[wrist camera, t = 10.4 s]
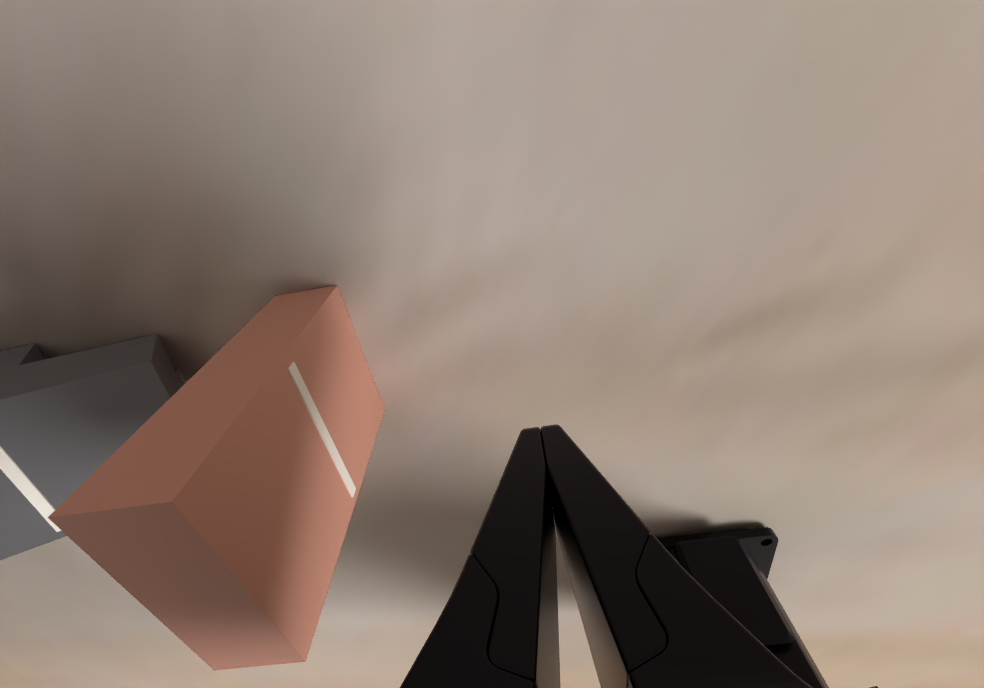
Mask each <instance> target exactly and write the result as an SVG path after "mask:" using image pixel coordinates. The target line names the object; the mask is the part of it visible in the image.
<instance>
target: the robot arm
mask: <svg viewBox="0 0 984 688" xmlns="http://www.w3.org/2000/svg"><path fill="white" fill-rule="evenodd" d="M551 501H552V502H551ZM552 508H553V509H552ZM553 514H554V516H553ZM554 520H555V524H554ZM555 525H556V529H557V533H558V537H559V541H560V544H561V548H562V551H563V555H564V559H565V562H566V566H567V569H568V573H569V576H570V580H571V583H572V587H573V590H574V594H575V597H576V601H577V604H578V608H579V611H580V615H581V619H582V622H583V626H584V629H585V633H586V636H587V640H588V643H589V647H590V650H591V654H592V657H593V661H594V664H595V668H596V672H597V675H598V679H599V682H600V686H601V688H829V687H828V685H827V684H826V682H825V680H824V678H823V677H822V675H821V673H820V671H819V670H818V668H817V666H816V664H815V663H814V661H813V659H812V657H811V656H810V654H809V652H808V650H807V649H806V647H805V645H804V643H803V642H802V640H801V638H800V637H799V635H798V633H797V631H796V630H795V628H794V626H793V624H792V623H791V621H790V619H789V617H788V616H787V614H786V612H785V610H784V609H783V607H782V605H781V603H780V602H779V600H778V598H777V597H776V595H775V593H774V591H773V590H772V588H771V586H770V584H769V583H768V581H767V578H768V575H769V571H770V568H771V564H772V561H773V557H774V554H775V550H776V547H777V543H778V538H777V536H776V535H775V533H774V532H773V530H772V529H771V528H768V527H762V528H754V529H745V530H736V531H727V532H718V533H709V534H700V535H692V536H683V537H674V538H665V539H657V538H656V537H655V536H654V535H653V534H651V532H650V530H649V529H648V528H647V527H646V525H645V524H644V523H643V522H642V521H641V520H640V518H639V517H638V516H637V515H636V514H635V513H634V511H633V510H632V509H631V508H630V507H629V506H628V504H627V503H626V502H625V501H624V500H623V499H622V497H621V496H620V495H619V494H618V493H617V492H616V490H615V489H614V488H613V487H612V486H611V485H610V484H609V482H608V481H607V480H606V479H605V478H604V477H603V475H602V474H601V473H600V472H599V471H598V470H597V468H596V467H595V466H594V465H593V464H592V463H591V461H590V460H589V459H588V458H587V457H586V456H585V454H584V453H583V452H582V451H581V450H580V449H579V447H578V446H577V445H576V444H575V443H574V442H573V440H572V439H571V438H570V437H569V436H568V435H567V434H566V432H565V431H564V430H563V429H562V428H561V427H560V426H559V425H549V426H543V427H541V430H540V428H538V427H534V428H527V429H523V430H522V431H521V432H520V435H519V437H518V439H517V442H516V444H515V447H514V449H513V451H512V454H511V456H510V458H509V461H508V463H507V466H506V468H505V470H504V473H503V475H502V477H501V480H500V482H499V485H498V487H497V489H496V492H495V494H494V496H493V499H492V501H491V504H490V506H489V508H488V511H487V513H486V516H485V518H484V520H483V523H482V525H481V527H480V530H479V532H478V535H477V537H476V539H475V542H474V544H473V546H472V549H471V551H470V553H471V555H469V556H468V558H467V560H466V563H465V565H464V567H463V570H462V572H461V574H460V577H459V579H458V581H457V583H456V585H455V587H454V590H453V592H452V594H451V596H450V598H449V600H448V602H447V604H446V606H445V608H444V610H443V611H442V613H441V615H440V617H439V619H438V621H437V623H436V625H435V626H434V628H433V630H432V632H431V633H430V635H429V637H428V639H427V641H426V642H425V644H424V646H423V648H422V649H421V651H420V653H419V655H418V657H417V658H416V660H415V662H414V664H413V665H412V667H411V669H410V671H409V672H408V674H407V676H406V678H405V680H404V681H403V683H402V685H401V687H400V688H560V662H559V631H558V600H557V568H556V537H555ZM871 688H878V687H877V686H875V687H871Z"/></svg>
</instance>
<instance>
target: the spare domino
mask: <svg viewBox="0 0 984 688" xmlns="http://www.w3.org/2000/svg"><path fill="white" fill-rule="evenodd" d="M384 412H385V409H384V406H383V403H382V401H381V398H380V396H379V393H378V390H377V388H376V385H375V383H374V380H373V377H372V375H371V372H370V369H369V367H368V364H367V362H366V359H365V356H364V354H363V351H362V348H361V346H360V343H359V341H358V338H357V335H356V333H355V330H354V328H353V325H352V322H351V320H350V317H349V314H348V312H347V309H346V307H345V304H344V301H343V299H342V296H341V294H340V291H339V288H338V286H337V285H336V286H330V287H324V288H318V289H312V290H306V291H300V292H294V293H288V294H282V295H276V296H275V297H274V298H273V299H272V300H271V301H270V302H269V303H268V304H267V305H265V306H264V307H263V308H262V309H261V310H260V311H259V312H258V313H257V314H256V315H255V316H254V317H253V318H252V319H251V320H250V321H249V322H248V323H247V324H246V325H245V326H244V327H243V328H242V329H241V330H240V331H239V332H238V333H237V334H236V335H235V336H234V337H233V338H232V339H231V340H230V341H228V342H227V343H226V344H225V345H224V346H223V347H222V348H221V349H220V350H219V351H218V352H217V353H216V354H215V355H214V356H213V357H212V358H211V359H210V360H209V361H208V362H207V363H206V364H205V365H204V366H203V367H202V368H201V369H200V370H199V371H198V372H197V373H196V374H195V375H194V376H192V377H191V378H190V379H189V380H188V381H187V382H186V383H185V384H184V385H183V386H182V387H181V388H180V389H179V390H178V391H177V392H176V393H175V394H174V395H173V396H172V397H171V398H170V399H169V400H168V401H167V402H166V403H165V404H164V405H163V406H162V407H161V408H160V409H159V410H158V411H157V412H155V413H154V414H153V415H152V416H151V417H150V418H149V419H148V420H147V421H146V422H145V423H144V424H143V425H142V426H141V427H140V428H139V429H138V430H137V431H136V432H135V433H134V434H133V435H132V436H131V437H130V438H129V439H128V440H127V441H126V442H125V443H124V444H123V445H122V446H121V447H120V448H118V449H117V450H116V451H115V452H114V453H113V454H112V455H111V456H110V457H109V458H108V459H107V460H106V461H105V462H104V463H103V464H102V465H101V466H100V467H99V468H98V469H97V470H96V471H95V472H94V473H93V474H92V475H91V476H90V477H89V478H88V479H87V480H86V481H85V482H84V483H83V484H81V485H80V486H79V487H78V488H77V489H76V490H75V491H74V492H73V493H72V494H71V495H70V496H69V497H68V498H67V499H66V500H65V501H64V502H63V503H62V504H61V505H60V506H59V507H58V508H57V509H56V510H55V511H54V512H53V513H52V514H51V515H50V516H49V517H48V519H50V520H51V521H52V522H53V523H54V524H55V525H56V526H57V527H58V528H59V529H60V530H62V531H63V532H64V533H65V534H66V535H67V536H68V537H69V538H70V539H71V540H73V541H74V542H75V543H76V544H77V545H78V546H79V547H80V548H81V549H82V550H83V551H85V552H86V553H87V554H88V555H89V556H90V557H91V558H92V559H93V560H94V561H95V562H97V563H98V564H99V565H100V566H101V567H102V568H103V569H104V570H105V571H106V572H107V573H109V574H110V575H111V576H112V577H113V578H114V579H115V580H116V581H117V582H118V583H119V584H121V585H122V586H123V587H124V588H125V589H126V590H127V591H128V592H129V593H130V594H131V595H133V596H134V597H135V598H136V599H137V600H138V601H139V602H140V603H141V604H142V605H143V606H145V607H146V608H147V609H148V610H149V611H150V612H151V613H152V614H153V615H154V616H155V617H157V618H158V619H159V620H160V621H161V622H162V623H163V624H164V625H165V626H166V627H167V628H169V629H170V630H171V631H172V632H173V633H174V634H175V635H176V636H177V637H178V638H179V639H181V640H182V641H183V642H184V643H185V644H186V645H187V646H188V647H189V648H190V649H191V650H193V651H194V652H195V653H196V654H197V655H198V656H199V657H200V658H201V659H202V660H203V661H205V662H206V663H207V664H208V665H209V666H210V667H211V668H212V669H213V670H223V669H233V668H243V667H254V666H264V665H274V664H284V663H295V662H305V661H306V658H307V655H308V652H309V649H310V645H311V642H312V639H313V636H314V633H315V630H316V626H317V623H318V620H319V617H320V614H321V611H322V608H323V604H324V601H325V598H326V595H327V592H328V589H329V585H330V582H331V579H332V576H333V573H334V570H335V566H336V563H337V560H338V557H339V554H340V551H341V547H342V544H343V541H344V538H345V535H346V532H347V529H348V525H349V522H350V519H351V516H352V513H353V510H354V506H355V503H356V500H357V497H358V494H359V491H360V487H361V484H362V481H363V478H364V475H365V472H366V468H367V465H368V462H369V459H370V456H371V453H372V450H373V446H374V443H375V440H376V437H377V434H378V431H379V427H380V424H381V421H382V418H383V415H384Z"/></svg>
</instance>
